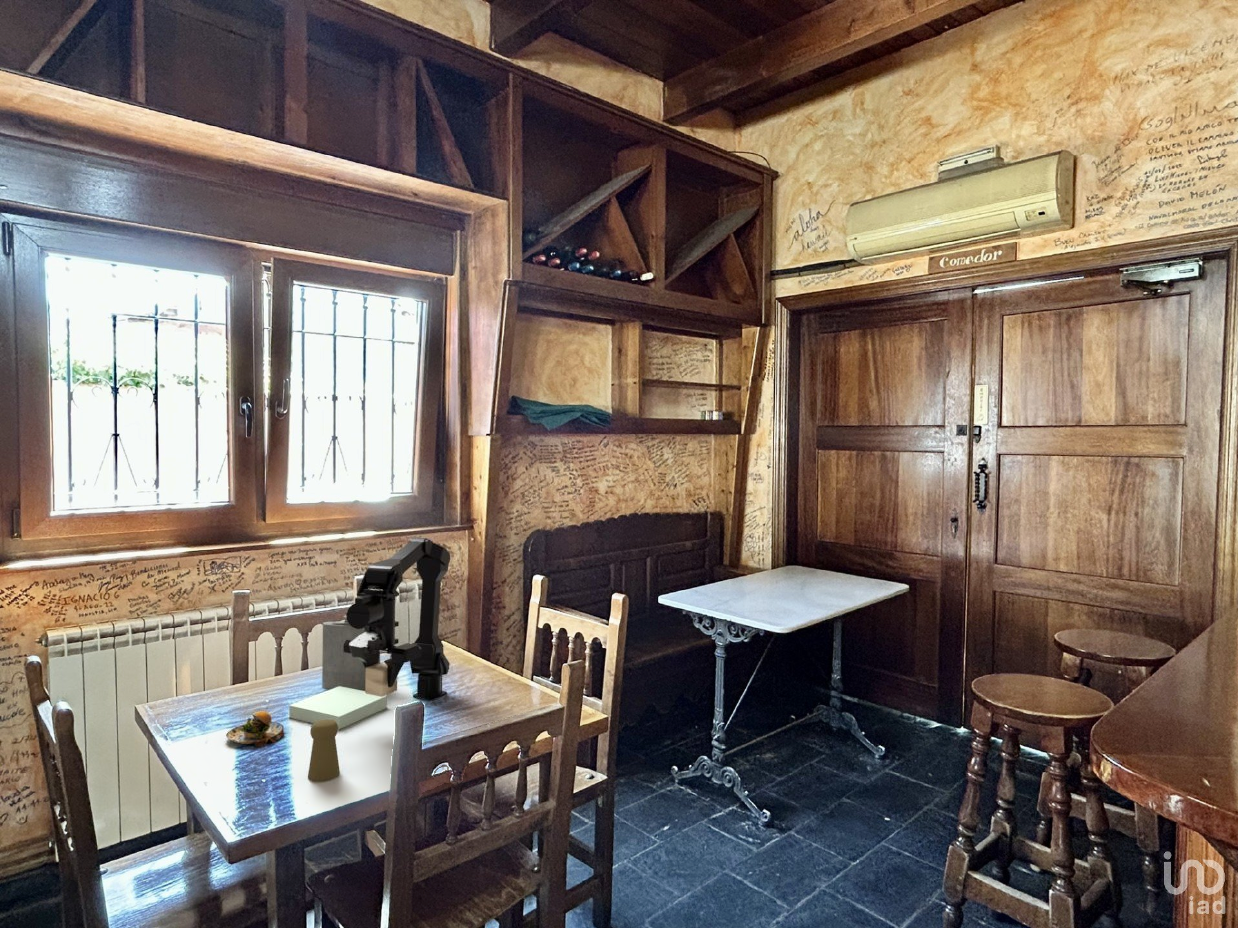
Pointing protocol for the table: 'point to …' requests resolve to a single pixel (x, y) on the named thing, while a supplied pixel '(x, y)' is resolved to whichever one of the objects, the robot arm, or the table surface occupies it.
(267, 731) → the burger
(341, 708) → the plinth
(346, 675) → the hip flask
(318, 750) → the cork
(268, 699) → the table surface
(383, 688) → the birch block
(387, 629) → the robot arm
